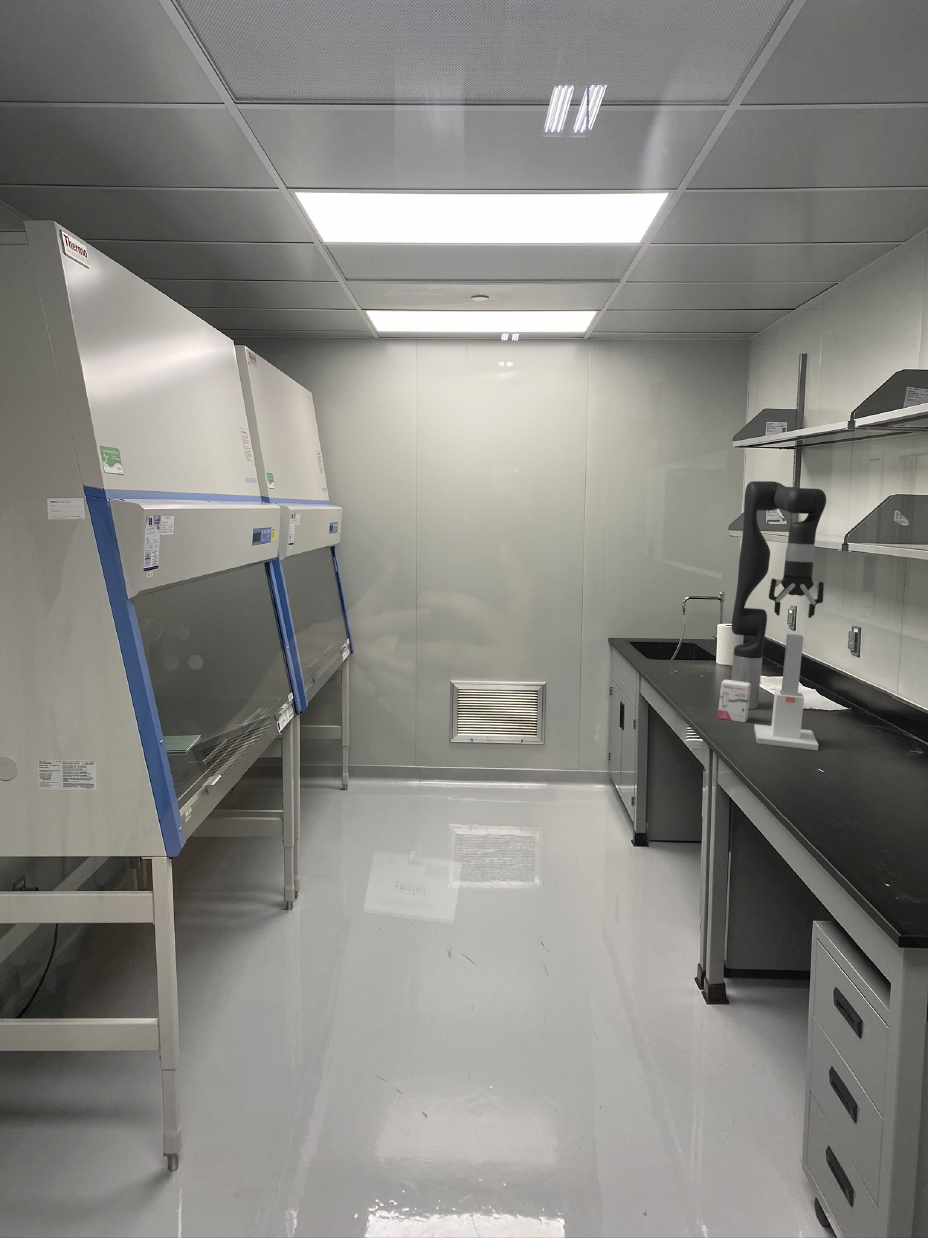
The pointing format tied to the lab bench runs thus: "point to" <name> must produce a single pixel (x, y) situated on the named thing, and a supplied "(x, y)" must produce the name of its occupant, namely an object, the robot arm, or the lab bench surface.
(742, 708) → the ink box
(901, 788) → the lab bench surface
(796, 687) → the steel post
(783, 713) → the stand housing
